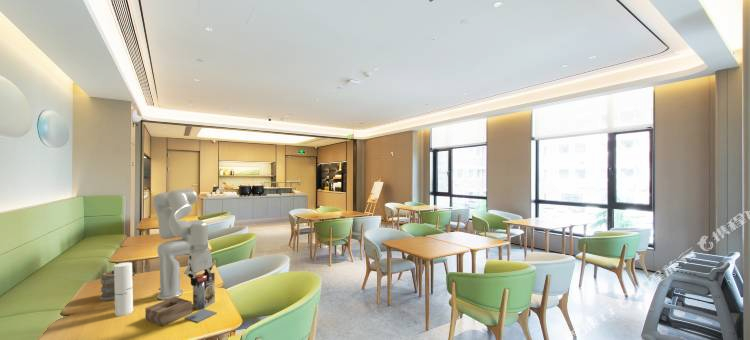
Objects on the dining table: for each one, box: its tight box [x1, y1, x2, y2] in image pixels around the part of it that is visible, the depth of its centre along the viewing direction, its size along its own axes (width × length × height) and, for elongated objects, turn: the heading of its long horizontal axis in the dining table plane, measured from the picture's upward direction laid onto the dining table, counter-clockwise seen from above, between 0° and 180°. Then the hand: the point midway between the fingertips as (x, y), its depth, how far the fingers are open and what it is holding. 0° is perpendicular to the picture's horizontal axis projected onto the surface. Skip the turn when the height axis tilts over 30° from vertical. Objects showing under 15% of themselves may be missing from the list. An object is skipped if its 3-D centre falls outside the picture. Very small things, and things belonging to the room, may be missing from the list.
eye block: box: [144, 297, 193, 327], centre depth 153 cm, size 14×14×6 cm
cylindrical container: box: [113, 261, 134, 317], centre depth 157 cm, size 7×7×25 cm
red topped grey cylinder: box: [195, 273, 207, 311], centre depth 153 cm, size 6×6×16 cm
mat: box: [184, 308, 218, 323], centre depth 153 cm, size 10×10×1 cm
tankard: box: [99, 269, 136, 302], centre depth 178 cm, size 20×13×15 cm, turn 76°
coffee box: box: [192, 272, 216, 309], centre depth 165 cm, size 9×6×16 cm
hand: (200, 282), depth 153 cm, fingers closed on red topped grey cylinder, 6 cm apart
